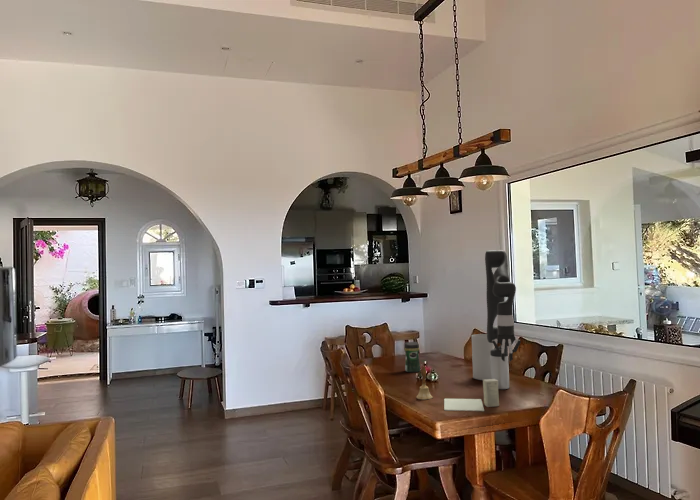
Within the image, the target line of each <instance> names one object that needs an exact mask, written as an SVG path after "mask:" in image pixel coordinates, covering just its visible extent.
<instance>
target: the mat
mask: <svg viewBox="0 0 700 500" xmlns="http://www.w3.org/2000/svg"><path fill="white" fill-rule="evenodd" d="M482 400H483V399H481V398H444V399H443V405H444V406H443V407H444V408H443V409H444V411H453V412H454V411H456V412H457V411H458V412H459V411H460V412H465V411H467V412H485V409H484V403H483V401H482Z"/></svg>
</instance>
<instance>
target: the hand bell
mask: <svg viewBox="0 0 700 500" xmlns="http://www.w3.org/2000/svg"><path fill="white" fill-rule="evenodd" d="M420 374H421V379H422V382H421V383H422V385H421V386H419V391H418V394H417V395H416V397H415V398H416V399H418V400H432V399H433V396H432V395H431V392H430V390H429V387H428V386H427V385H426V384H427V383H426V378H427V369H426V366H425V365H422V366H421V368H420Z"/></svg>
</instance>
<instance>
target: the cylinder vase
mask: <svg viewBox="0 0 700 500" xmlns="http://www.w3.org/2000/svg"><path fill="white" fill-rule="evenodd" d="M492 349H495V346H494V344H493V343H489V342H488V340H487V333H478V334H472V335H471V353H472V354H471V359H472V360H471V361H472V378H473V379H475V380H478V381H483V379H491V355H490V351H491V350H492Z"/></svg>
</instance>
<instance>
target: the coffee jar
mask: <svg viewBox="0 0 700 500" xmlns="http://www.w3.org/2000/svg"><path fill="white" fill-rule="evenodd" d="M403 346H404V347H403V348H404V352H405V363H404V370H405V372H407V373H418V372H421V363H420V356H419V352H420V345H419V343H418V342H417V341H410V342H405V343H404V345H403Z"/></svg>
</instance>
